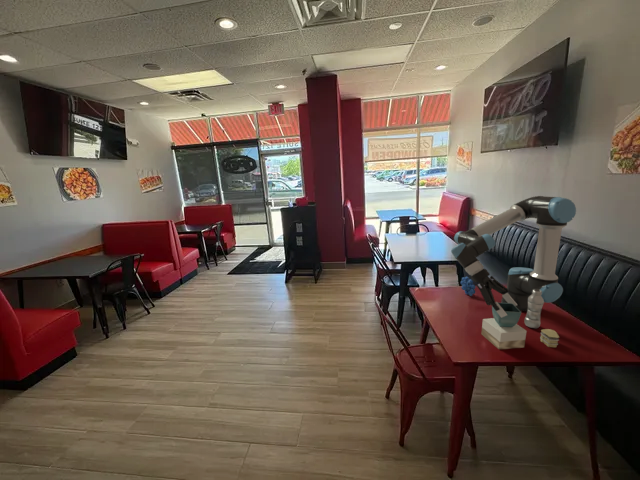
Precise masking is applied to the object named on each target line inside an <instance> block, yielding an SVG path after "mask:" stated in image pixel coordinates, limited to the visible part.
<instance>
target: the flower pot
mask: <svg viewBox="0 0 640 480" xmlns="http://www.w3.org/2000/svg"><path fill="white" fill-rule="evenodd" d="M497 303H498V304H499V305H500V306H501V308H502V309H503V310H504V311H505V312H506V314H507V316H504V317H502V318H501V317H500V315H499V314H498V313H497V312H496V310H495V309H494V308H493V307H492V306H491V311H492V318H494V319H495V321H496V322H497V323H498V325H499V326H501V327H513V326H515V325H516V324H517V325H518V322H520V317H521V315H522V311H520V310H519V309H518V308H517V307H516V306H514V305H513V304H512V303H501V302H497Z"/></svg>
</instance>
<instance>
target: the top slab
mask: <svg viewBox="0 0 640 480" xmlns="http://www.w3.org/2000/svg"><path fill="white" fill-rule="evenodd" d="M481 325H482V326H481V329H482V328H483V329H485V330H486V331H487V332H488V333H490V334H491V335H492V336H493V337H495V338H496V339H497V340H498V341H499V342H505V341H516V340H525V341H526V337H527V332H528V331H527V330H526V329H525V328H523V327H521V326H520V325H519V324H518V323H517V324H516V325H515V326H513V327H501V326H499V325H498V323H497V322H496V321H495V319H494V317H490V318H489V317H488V318H483V319H482V324H481Z"/></svg>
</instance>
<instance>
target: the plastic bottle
mask: <svg viewBox="0 0 640 480" xmlns="http://www.w3.org/2000/svg"><path fill="white" fill-rule="evenodd" d="M532 293H533V294H532V295H530V296H529V297H528V310H527V311H526V315H525V317H524V319H523V320H524V325H525V326H526V327H528V328H530V329H538V328H539V327H540V326H541V313H542V310H543V309H542V308H543V306H544V304H545V302H544V300H543V298H542V296H541V295H542V291H541V290H539V289H533V291H532Z"/></svg>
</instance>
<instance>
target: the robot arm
mask: <svg viewBox="0 0 640 480" xmlns="http://www.w3.org/2000/svg"><path fill="white" fill-rule="evenodd" d="M576 212H577V208H576V205H575V202H573V201H572V200H571V199H569V198H567V197H560V196H546V195H545V196H543V195H537V196H531V197H528V198H525V199H523V200H520V201H518V202H516V203H514V204H512V205H511V206H510V207H509V209H507V210H505V211H503V212H502V213H499V214H497V215H495V216H492V217H491V218H489V219H487V220H485V221H483V222H481V223H480V224H478V225H475V226H474V227H472V228H470V229H468V230H466V231H464V230H463V231H462V230H460V231H458V232H456V233H455V234H454V237H453V239H454V242H455V243H456V244H457V245H455V246H454V247H453V248H451V251H450V252H451V254H452V255H453V257H454V259H456V261H457V262H458V263H459V264H460V266H462V268H463V269H464V270H465V273H467V274H468V275H469V276H470V279H471V280H473V282H474V283H478V284H476V287H477V288H478V290H479V292H480V294H481V295H482V296H481V297H482V298H483V300H484V302H485V303H486V305H487V306H491V308H492V307H493V308H494V309H495V310H496V312H497V313H498V314H499V315H500V317H501V318H502V317H504V316H507V314H506V312H505V311H504V310H503V309H502V308H501V306H500V305H499V304H498V303H499V302H498V301H496V300H495V297H494V294H493V291H492V289H493V290H494V291H496V292H498V293H499V294H501V297H502V298H501V302H500V303H512V304H513V305H514V306H516V307H517V308H518V309H519V310H520V311H521V312H527V310H528V297H529V296H530V295H532V294H533V293H532V291H533V289H539V290H541V291H542V295H541V296H542V298H543V300H544V304H546V303H547V304H549V303H553V302H556V301H558V299H560V298H561V296H562V294H563V292H564V288H563V286H562V284H560V283H559V282H558V281H559V277H558V275H556V270H557V262H558V256H559V249H560V245H561V238H562V230H563V228H565V227H566V226H567V225H568V223H569V222H571V221H572V220H573V218H575V216H576V214H577V213H576ZM526 219H536V222H535V223H536V225H537V227H539V229H538V235H537V236H538V237H537V244H536V250H535V258H534V266H533V268H529V267H521V266H520V267H515V266H514V267H511V268H510V269H509V271H508V273H507V280H506V286H504V285H503V284H502V283H500V282H499V281H498V280H497V279H496V278H495V277H494V276H493V275H491V276H490V272H489V271H488V270H487V269H486V268H484V266H485V265H483V263H481V262H480V260H479V259H478V257H479V256H481V255H483V254H485V253H487V252H489V251H491V249H493V248H494V247H495V246H496V239H495V238H494V237H493V236H492V235H493V234H495V233H497V232H498V231H499V232H500V230H502V229H504V228H508V227H509V226H510V225H513V224H514V223H517V222H519V221H520V222H523V221H524V220H526Z"/></svg>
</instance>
